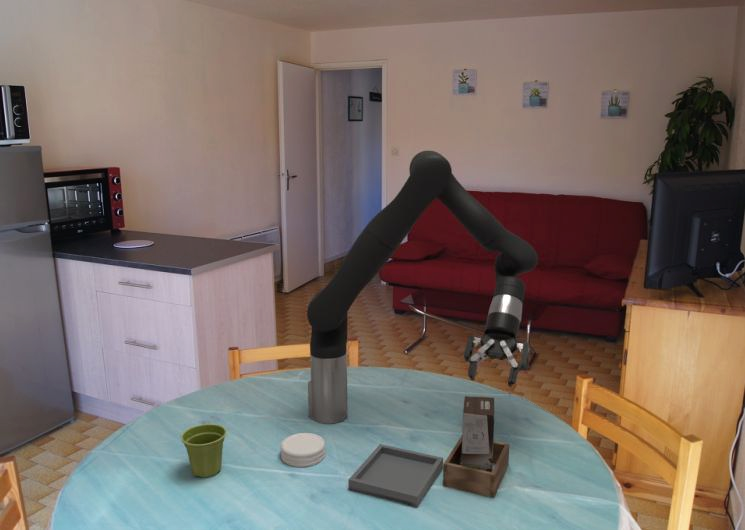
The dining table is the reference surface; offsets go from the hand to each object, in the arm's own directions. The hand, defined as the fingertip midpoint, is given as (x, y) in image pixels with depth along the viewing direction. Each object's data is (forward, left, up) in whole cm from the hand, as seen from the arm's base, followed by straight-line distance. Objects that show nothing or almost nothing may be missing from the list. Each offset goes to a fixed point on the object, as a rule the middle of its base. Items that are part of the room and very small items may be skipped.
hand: (490, 382), depth 135 cm
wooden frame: (0, -10, -17) cm, 20 cm away
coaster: (-38, -18, -18) cm, 46 cm away
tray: (-15, -18, -17) cm, 29 cm away
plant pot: (-54, -32, -17) cm, 65 cm away
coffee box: (0, -10, -17) cm, 20 cm away
